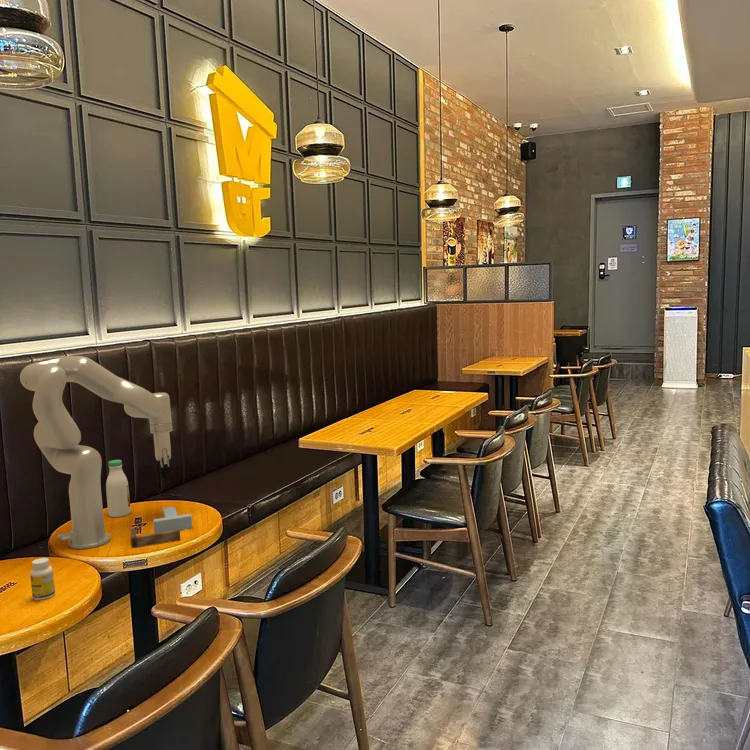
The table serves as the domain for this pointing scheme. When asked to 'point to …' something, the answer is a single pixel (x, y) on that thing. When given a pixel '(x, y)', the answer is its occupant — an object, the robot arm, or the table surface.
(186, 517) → the t block
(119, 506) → the milk bottle
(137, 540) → the corner fence
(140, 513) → the table surface
